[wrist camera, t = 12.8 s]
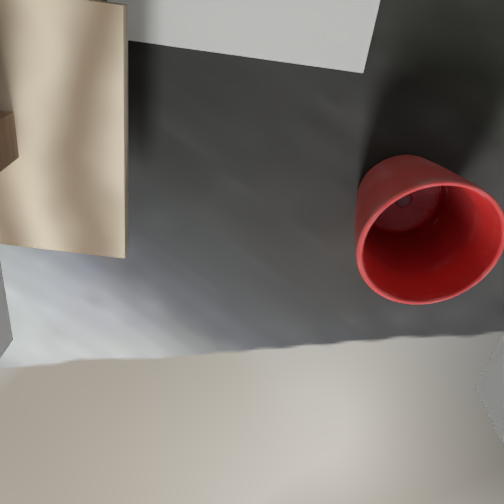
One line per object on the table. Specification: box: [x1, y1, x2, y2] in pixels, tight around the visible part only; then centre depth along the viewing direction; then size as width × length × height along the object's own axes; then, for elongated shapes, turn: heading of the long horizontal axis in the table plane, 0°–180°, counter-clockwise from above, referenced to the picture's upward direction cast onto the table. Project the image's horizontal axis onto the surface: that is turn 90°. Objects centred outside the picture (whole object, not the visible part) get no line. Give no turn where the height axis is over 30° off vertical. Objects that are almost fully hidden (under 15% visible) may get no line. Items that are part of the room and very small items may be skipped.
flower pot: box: [355, 155, 504, 304], centre depth 40 cm, size 11×11×10 cm
